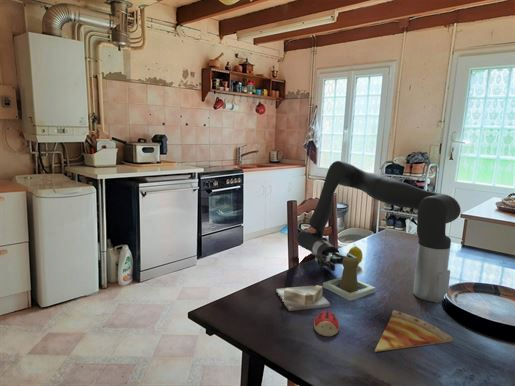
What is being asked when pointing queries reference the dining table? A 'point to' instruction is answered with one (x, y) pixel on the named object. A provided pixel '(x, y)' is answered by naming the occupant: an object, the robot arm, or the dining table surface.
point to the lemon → (356, 253)
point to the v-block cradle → (303, 297)
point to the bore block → (349, 296)
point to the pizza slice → (409, 333)
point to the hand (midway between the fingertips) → (345, 267)
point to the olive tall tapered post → (349, 275)
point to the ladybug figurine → (326, 324)
